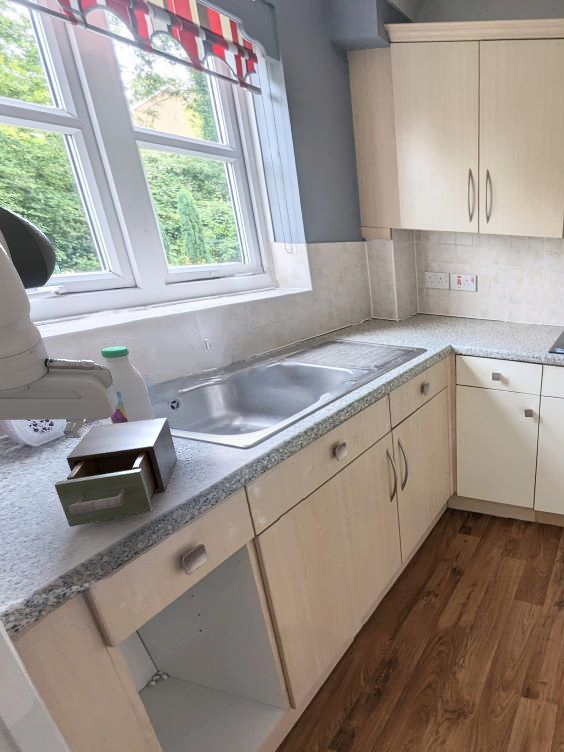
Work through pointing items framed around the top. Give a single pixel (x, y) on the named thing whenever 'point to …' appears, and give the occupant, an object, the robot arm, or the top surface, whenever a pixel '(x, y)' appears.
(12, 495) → the top surface
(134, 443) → the cabinet
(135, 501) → the drawer
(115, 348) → the milk bottle
